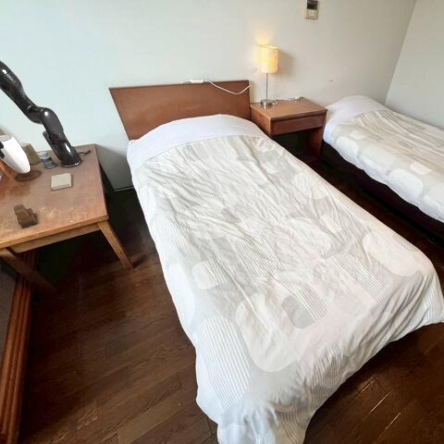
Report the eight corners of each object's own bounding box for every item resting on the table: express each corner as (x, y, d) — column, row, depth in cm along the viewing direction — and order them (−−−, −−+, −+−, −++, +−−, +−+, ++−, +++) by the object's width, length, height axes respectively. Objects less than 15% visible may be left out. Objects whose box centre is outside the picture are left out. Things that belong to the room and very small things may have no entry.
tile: (53, 179, 138) (51, 176, 137) (71, 175, 142) (69, 172, 141) (53, 190, 131) (50, 187, 130) (71, 186, 135) (69, 183, 134)
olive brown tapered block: (35, 164, 147) (23, 146, 140) (28, 163, 147) (15, 146, 140) (42, 159, 151) (30, 142, 144) (35, 159, 151) (22, 142, 144)
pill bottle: (48, 168, 145) (39, 156, 139) (44, 166, 147) (35, 153, 141) (57, 165, 148) (49, 152, 142) (53, 163, 150) (45, 150, 144)
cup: (39, 168, 144) (13, 133, 130) (41, 177, 139) (14, 140, 124) (15, 174, 139) (-15, 137, 124) (16, 182, 133) (-15, 145, 119)
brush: (21, 217, 115) (10, 205, 110) (35, 213, 118) (25, 201, 113) (23, 228, 111) (11, 216, 106) (37, 223, 113) (26, 211, 108)
